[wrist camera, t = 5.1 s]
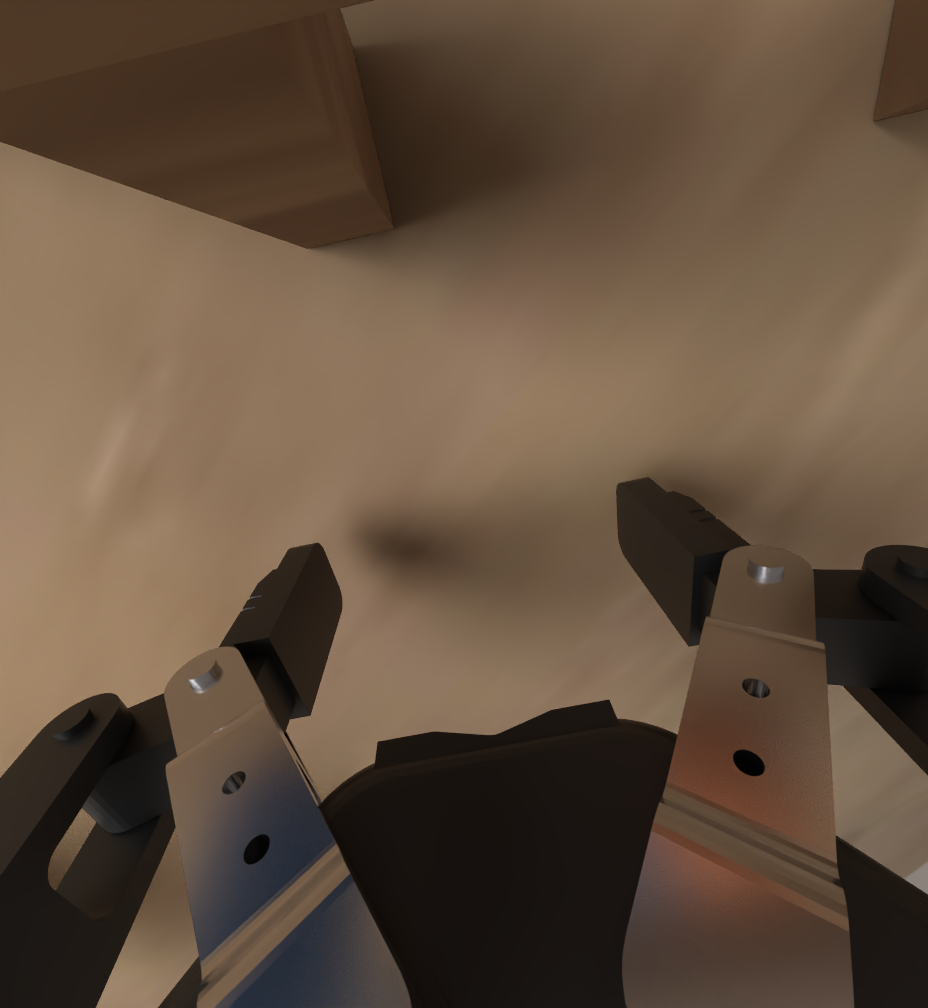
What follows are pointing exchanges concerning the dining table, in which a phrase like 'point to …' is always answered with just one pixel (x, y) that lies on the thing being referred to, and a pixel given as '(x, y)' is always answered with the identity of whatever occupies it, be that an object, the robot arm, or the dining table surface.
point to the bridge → (245, 104)
